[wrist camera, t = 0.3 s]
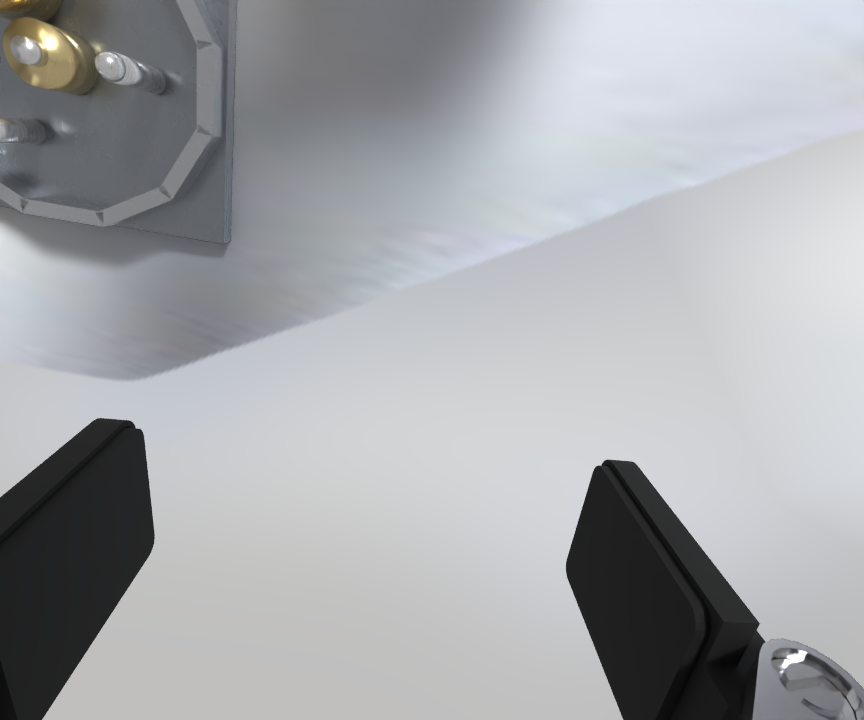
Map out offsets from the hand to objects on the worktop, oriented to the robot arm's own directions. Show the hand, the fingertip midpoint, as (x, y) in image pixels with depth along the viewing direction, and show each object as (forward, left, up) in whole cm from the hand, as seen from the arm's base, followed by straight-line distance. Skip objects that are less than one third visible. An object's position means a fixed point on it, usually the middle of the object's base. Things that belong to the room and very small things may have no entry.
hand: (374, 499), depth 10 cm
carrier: (-9, -23, -31) cm, 39 cm away
